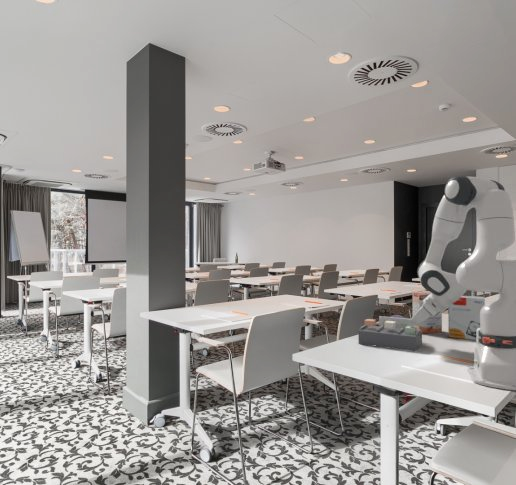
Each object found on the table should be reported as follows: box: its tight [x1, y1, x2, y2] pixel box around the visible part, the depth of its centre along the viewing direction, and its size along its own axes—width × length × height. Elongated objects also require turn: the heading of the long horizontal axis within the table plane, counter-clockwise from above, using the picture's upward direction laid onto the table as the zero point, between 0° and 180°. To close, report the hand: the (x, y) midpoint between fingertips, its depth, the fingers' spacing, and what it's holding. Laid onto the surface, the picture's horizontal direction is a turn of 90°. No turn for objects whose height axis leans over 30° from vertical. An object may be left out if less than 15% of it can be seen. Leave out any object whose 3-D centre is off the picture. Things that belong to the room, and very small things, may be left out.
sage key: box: [405, 326, 417, 334], centre depth 169 cm, size 4×4×2 cm
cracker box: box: [412, 290, 443, 334], centre depth 198 cm, size 14×6×21 cm, turn 105°
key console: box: [358, 315, 423, 352], centre depth 176 cm, size 20×25×10 cm
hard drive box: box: [447, 295, 486, 341], centre depth 185 cm, size 16×8×20 cm, turn 62°
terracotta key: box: [363, 318, 377, 327], centre depth 178 cm, size 4×4×2 cm
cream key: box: [384, 321, 396, 329], centre depth 174 cm, size 4×4×2 cm
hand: (409, 325), depth 169 cm, fingers closed, pressing on sage key
